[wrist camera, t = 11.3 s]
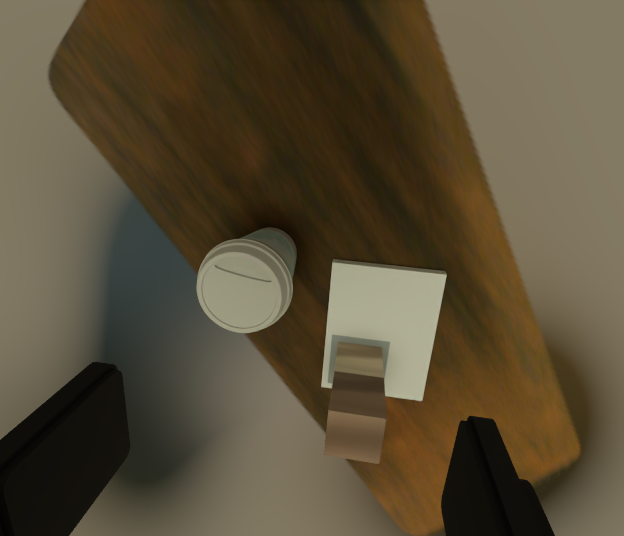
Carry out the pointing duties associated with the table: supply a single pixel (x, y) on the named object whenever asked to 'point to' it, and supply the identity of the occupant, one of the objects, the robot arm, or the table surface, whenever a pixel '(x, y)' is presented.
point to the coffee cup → (248, 280)
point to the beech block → (359, 359)
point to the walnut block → (356, 417)
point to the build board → (385, 320)
